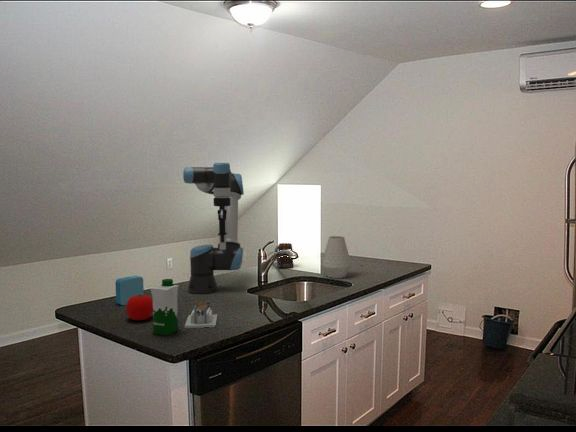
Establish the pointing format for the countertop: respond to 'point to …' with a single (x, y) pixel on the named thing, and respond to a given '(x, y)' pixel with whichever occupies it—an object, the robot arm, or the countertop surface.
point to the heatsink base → (201, 325)
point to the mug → (284, 257)
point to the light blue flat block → (128, 288)
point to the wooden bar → (201, 307)
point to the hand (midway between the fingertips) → (222, 249)
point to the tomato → (139, 307)
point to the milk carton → (165, 308)
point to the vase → (336, 258)
